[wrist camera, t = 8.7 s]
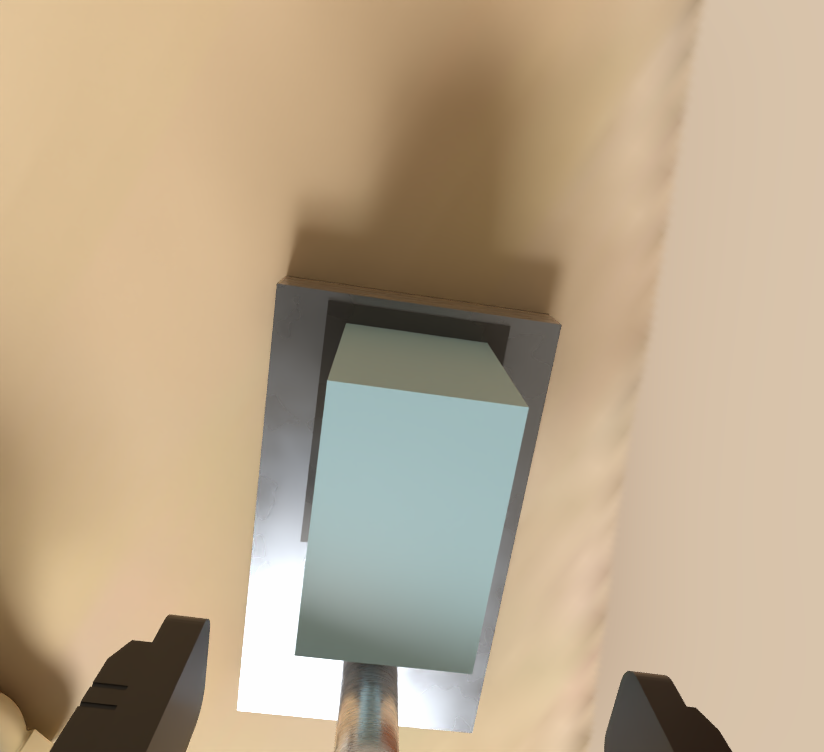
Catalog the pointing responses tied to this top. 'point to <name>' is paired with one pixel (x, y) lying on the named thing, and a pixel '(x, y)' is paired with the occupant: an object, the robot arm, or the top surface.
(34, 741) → the valve
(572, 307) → the top surface
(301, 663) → the housing
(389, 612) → the light blue block
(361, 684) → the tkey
